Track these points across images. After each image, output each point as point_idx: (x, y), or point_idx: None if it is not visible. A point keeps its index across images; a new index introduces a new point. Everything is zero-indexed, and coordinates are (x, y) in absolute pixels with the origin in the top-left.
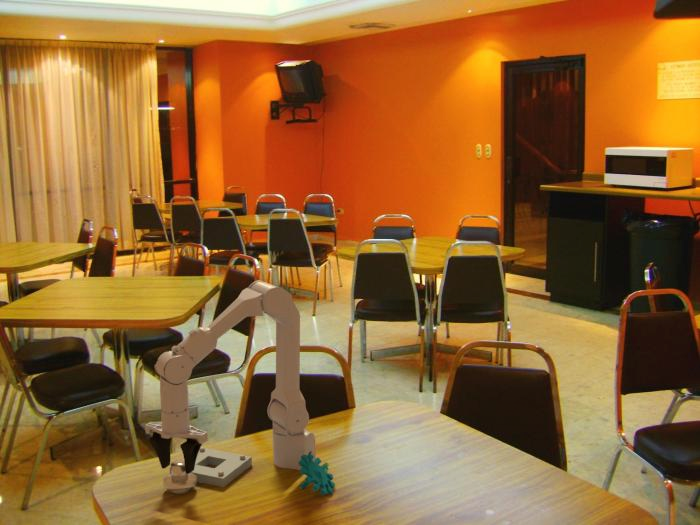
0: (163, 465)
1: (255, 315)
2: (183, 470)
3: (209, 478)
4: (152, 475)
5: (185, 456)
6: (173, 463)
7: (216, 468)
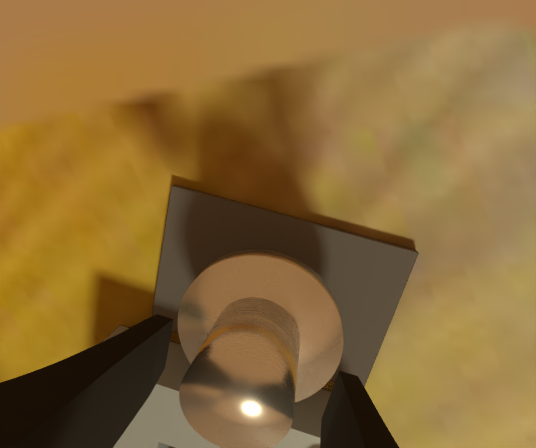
0: (343, 385)
1: None
2: (201, 349)
3: None
4: (448, 434)
5: (50, 393)
6: (277, 407)
7: (150, 441)
